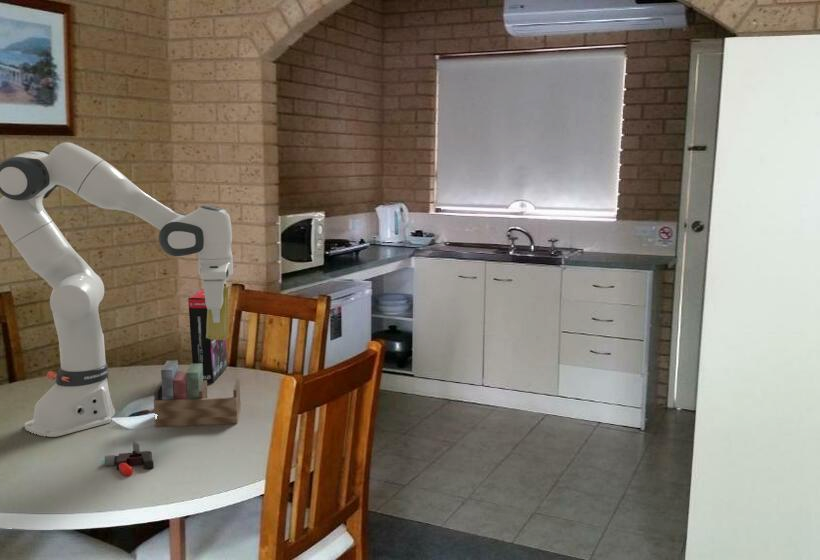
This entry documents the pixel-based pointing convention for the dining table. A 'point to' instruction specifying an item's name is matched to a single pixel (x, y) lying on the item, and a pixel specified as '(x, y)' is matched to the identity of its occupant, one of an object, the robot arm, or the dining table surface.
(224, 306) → the vase
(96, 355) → the robot arm
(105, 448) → the dining table surface
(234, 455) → the dining table surface
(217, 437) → the dining table surface
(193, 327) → the graphics card box
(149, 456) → the toy gun
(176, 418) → the wooden desk organizer
